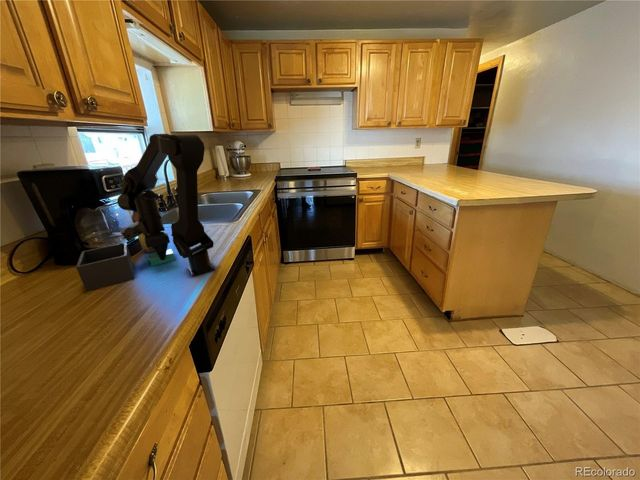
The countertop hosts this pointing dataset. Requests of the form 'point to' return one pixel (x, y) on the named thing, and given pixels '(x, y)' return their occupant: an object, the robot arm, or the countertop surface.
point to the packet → (156, 260)
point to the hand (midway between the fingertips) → (161, 257)
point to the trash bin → (105, 266)
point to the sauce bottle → (141, 236)
